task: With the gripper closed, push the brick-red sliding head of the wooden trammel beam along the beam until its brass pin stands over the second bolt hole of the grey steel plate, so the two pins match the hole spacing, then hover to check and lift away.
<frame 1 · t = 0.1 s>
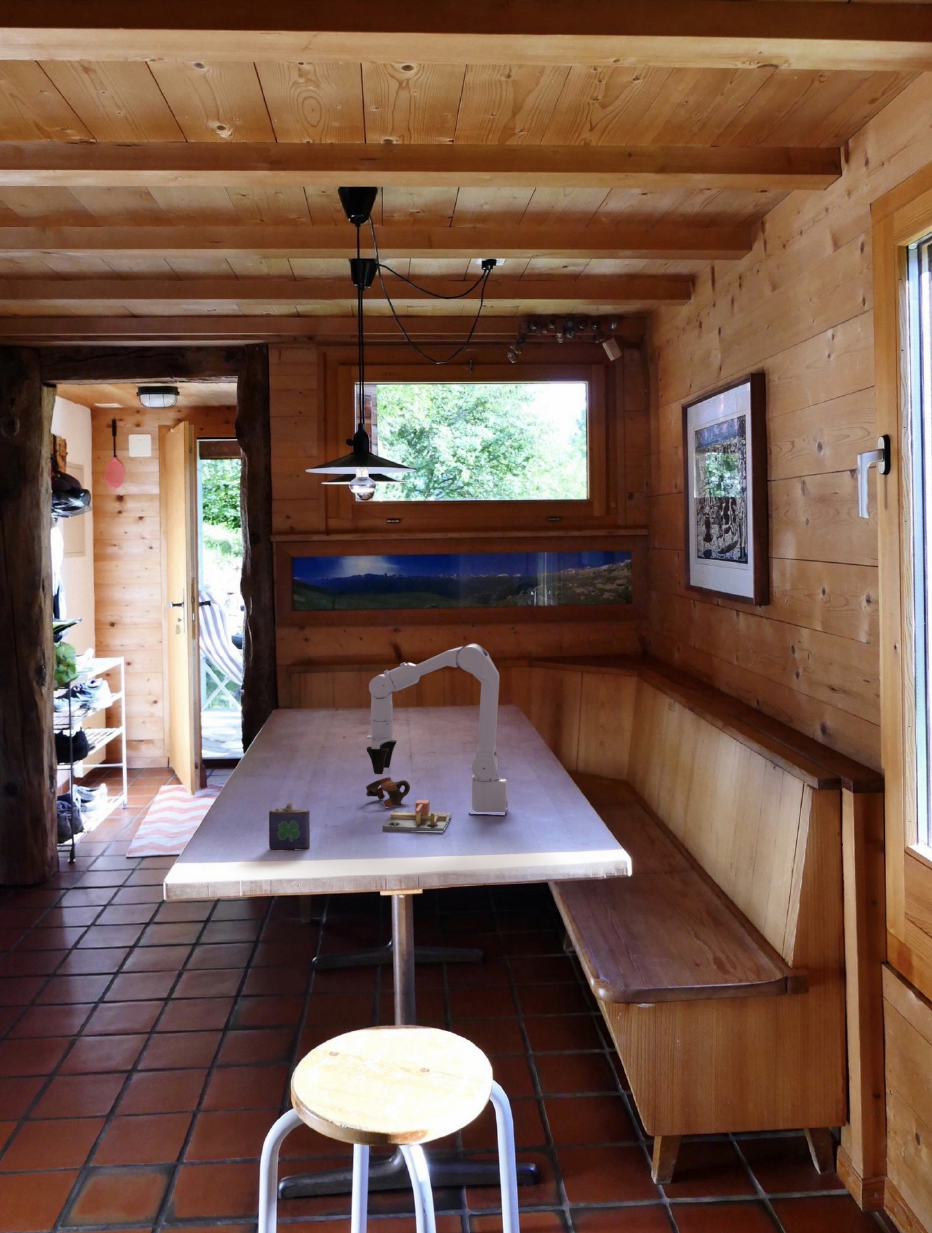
hand: (382, 770, 252), 10 cm above the table, tool pointing down, fingers open, 7 cm apart
pottery mug: (388, 804, 257), on the table
flask: (289, 849, 216), on the table
bolt plate: (417, 824, 237), on the table
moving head: (420, 812, 234), point 4 cm above the table, slide at 0.0 cm
beam: (418, 823, 238), resting on bolt plate
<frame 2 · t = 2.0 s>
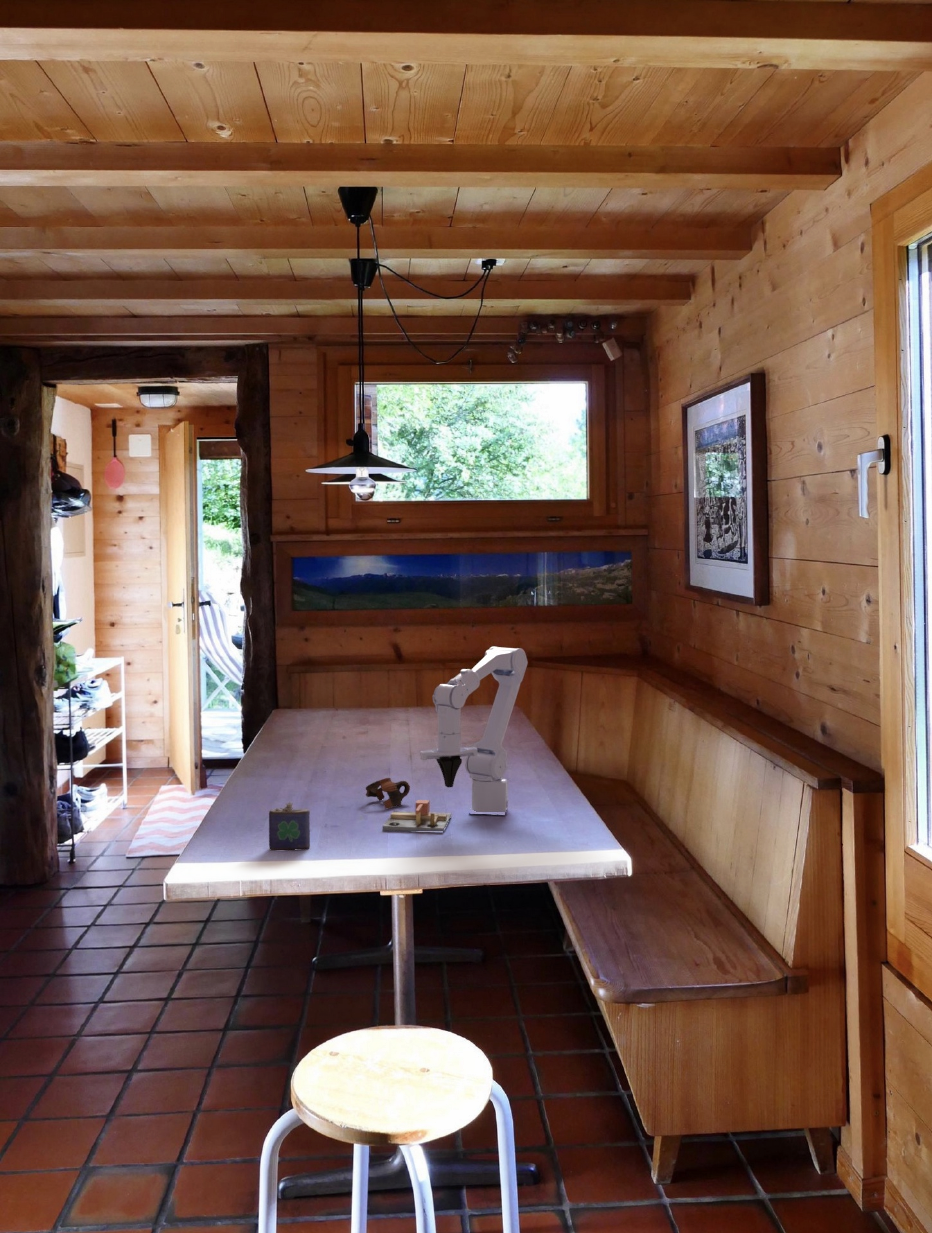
hand: (448, 786, 236), 10 cm above the table, tool pointing down, fingers closed
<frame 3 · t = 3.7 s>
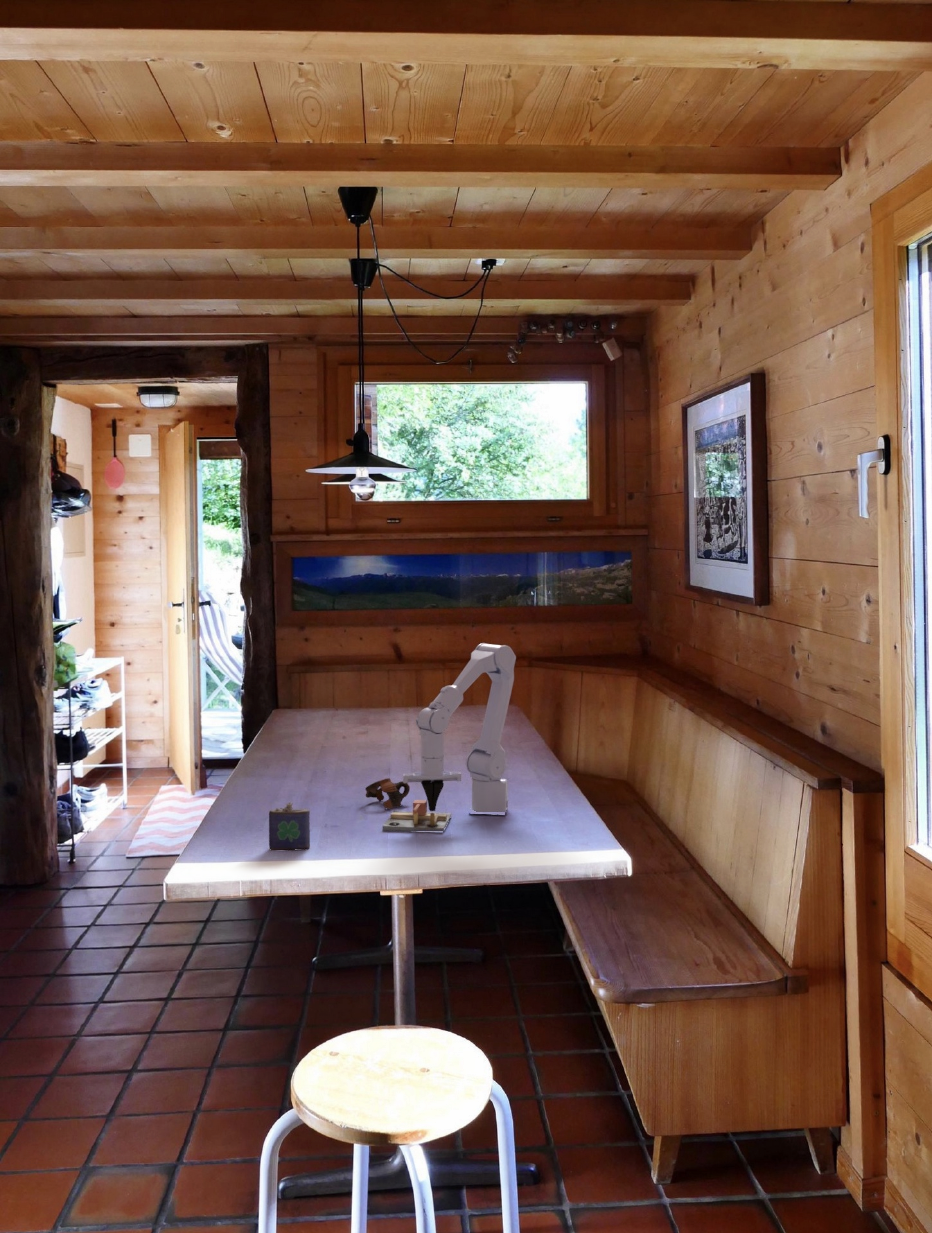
hand: (432, 810, 237), 3 cm above the table, tool pointing down, fingers closed
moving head: (417, 812, 235), point 4 cm above the table, slide at 0.7 cm, touching gripper
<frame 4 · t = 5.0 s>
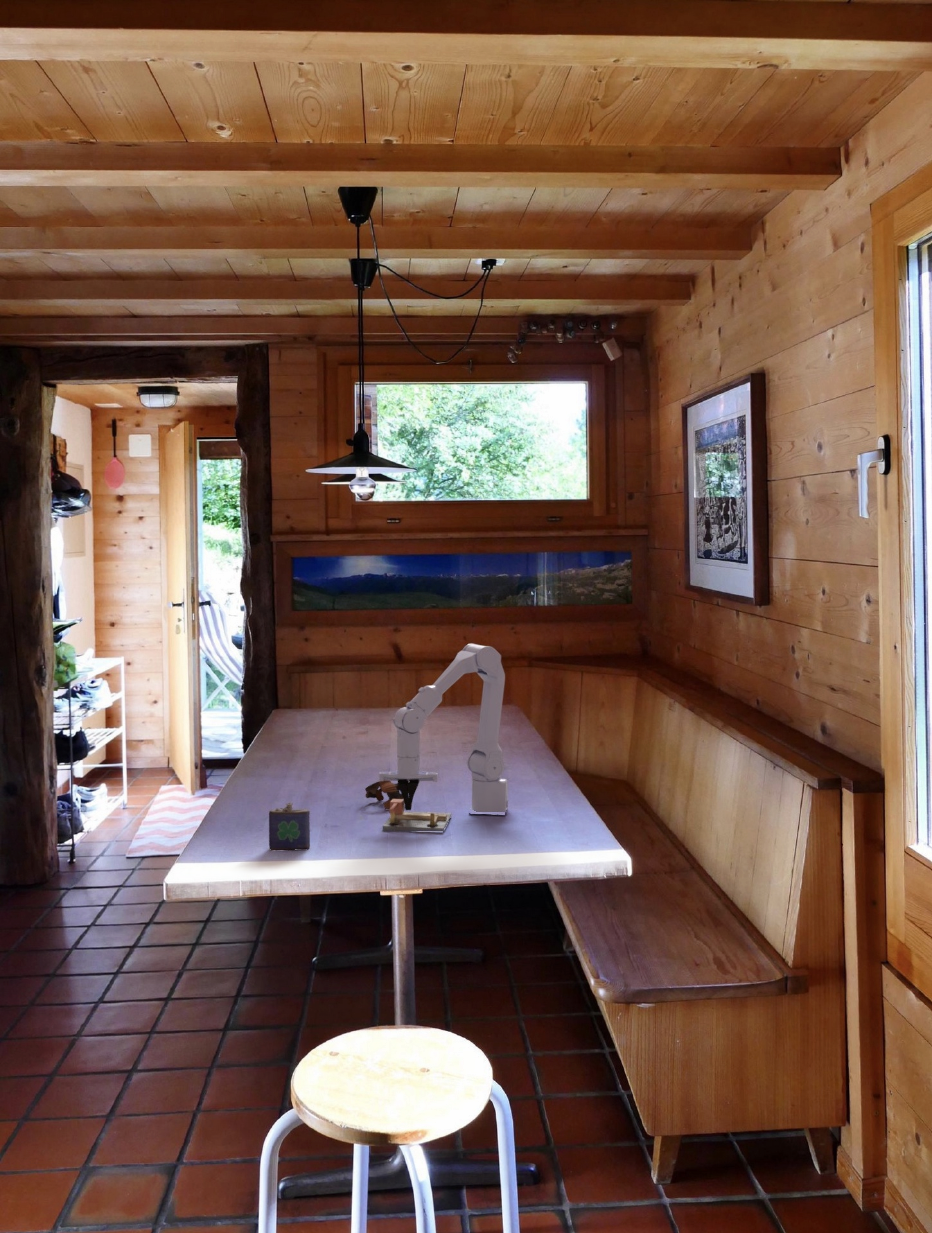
hand: (408, 809, 238), 3 cm above the table, tool pointing down, fingers closed
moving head: (394, 811, 235), point 4 cm above the table, slide at 6.5 cm, touching gripper
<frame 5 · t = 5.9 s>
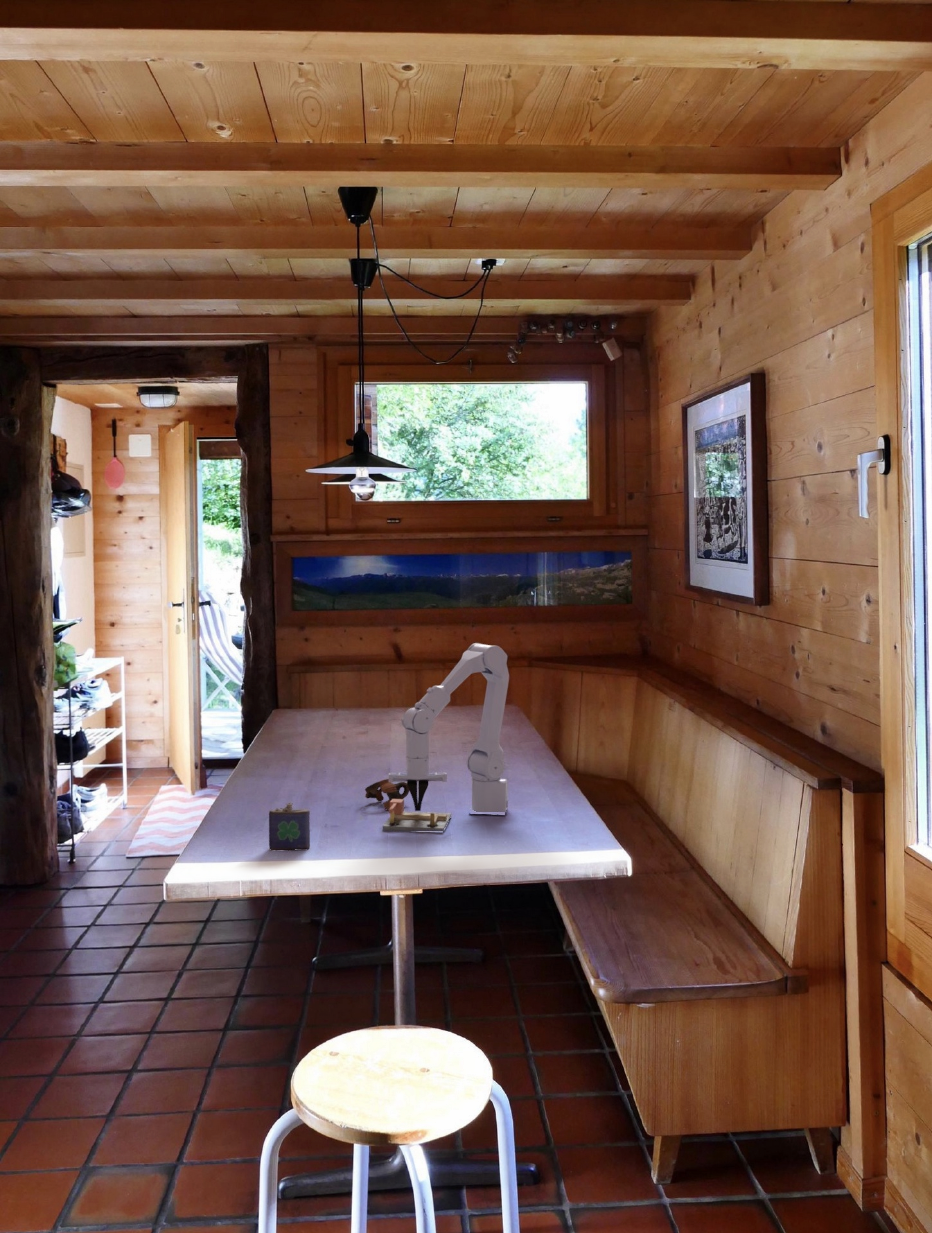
hand: (417, 809, 238), 3 cm above the table, tool pointing down, fingers closed
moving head: (394, 811, 235), point 4 cm above the table, slide at 6.6 cm
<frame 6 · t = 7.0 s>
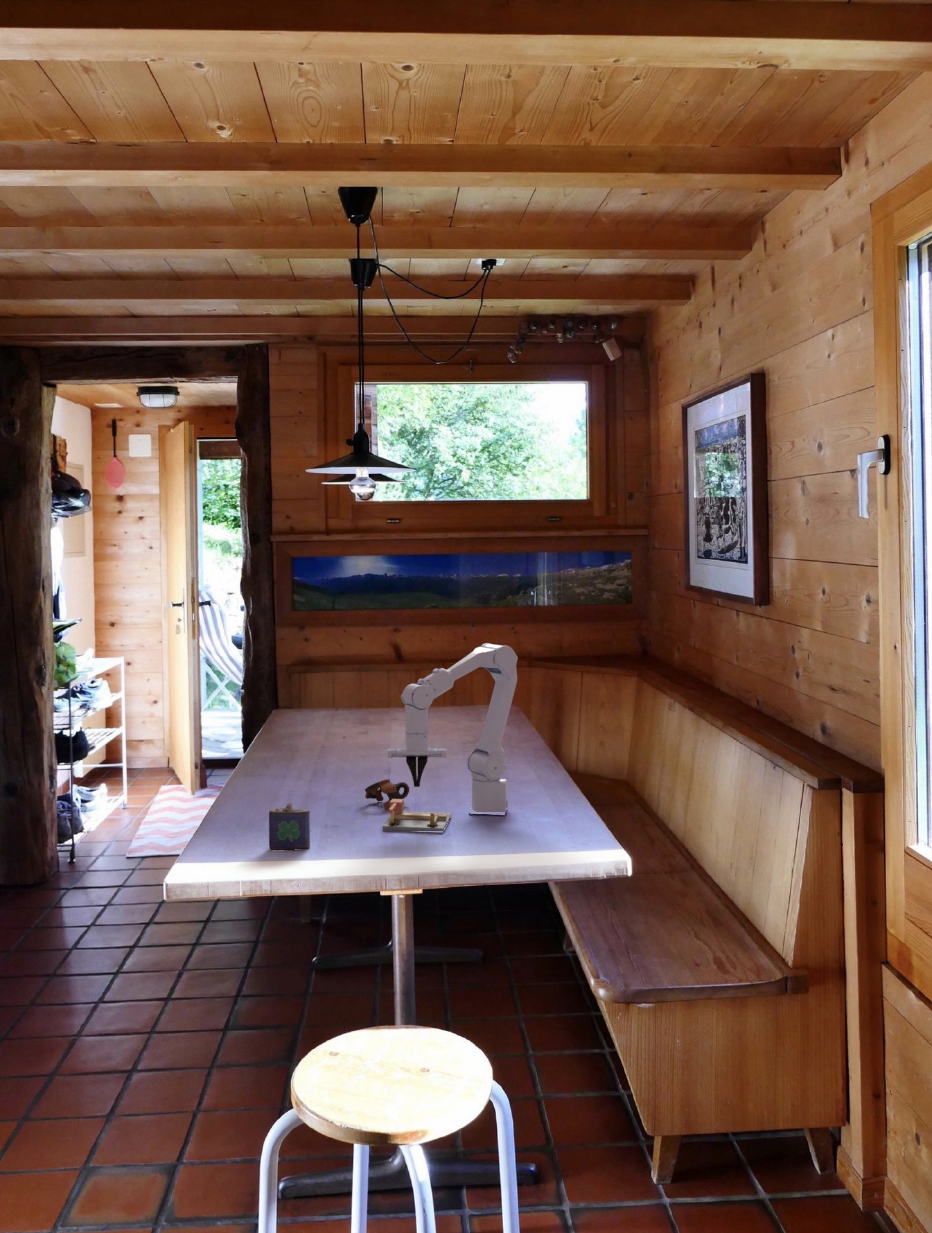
hand: (416, 785, 237), 9 cm above the table, tool pointing down, fingers closed
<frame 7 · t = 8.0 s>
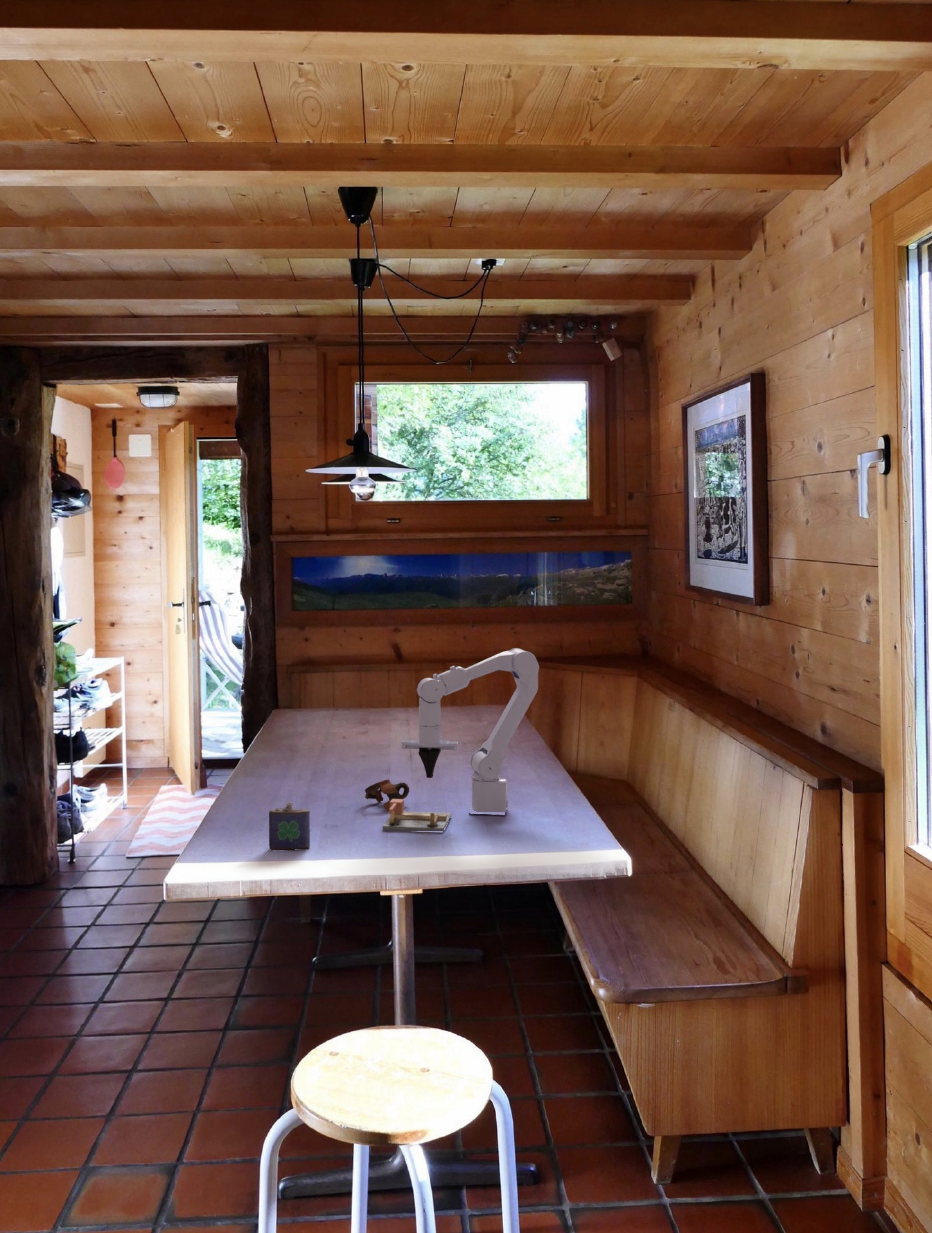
hand: (429, 777, 245), 10 cm above the table, tool pointing down, fingers closed
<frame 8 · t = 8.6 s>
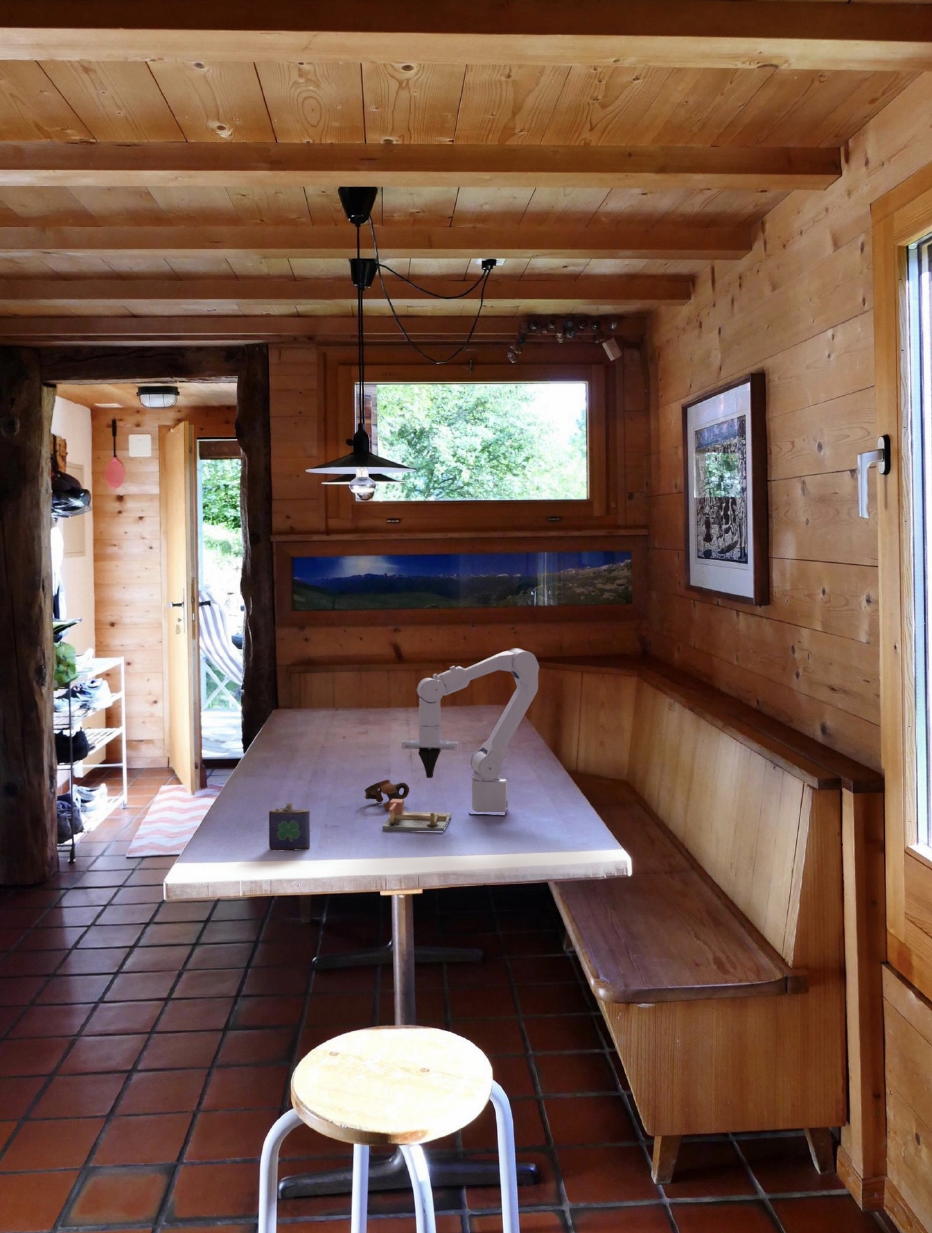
hand: (429, 777, 245), 10 cm above the table, tool pointing down, fingers closed
at the end: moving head slide at 6.6 cm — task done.
